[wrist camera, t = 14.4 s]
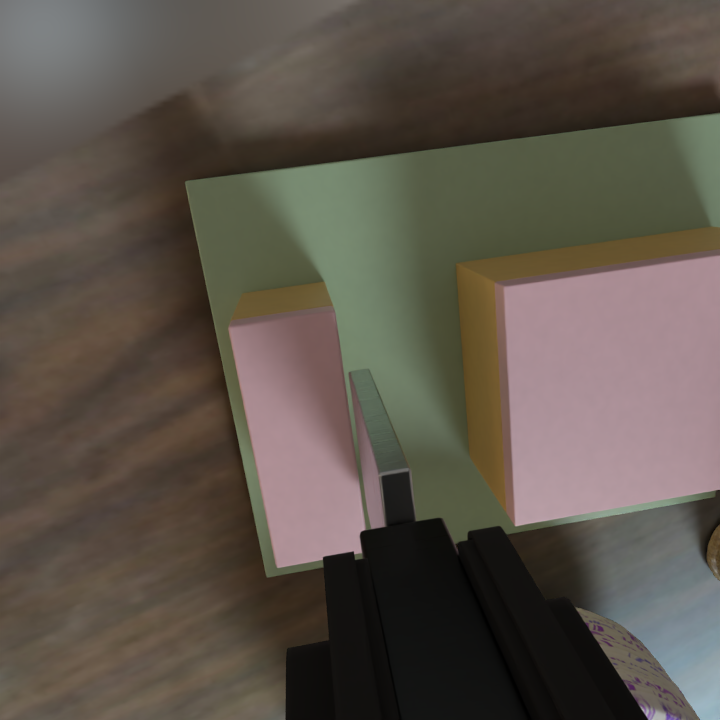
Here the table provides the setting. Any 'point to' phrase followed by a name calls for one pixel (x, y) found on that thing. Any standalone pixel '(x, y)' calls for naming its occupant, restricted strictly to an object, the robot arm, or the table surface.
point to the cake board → (438, 270)
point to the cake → (594, 373)
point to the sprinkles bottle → (714, 553)
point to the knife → (424, 589)
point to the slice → (299, 421)
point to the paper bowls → (639, 670)
